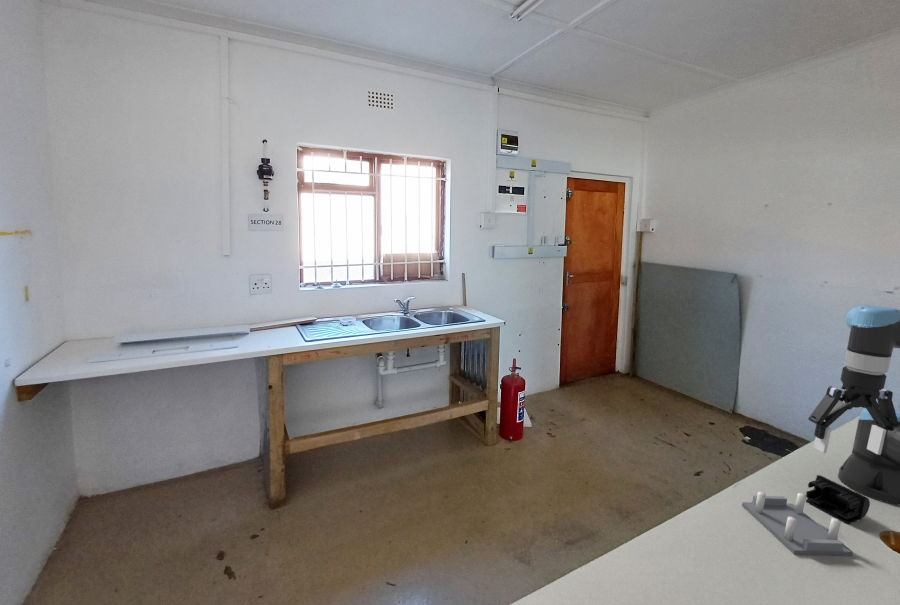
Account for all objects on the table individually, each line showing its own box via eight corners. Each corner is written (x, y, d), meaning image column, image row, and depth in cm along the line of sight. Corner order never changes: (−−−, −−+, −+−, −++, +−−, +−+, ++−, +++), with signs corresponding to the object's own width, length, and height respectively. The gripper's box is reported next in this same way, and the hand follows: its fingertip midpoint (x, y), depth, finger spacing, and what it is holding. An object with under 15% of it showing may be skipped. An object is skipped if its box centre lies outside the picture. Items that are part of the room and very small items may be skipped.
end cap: (866, 520, 101) (872, 495, 100) (849, 526, 99) (855, 501, 98) (819, 495, 111) (824, 472, 109) (802, 500, 108) (807, 477, 107)
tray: (791, 507, 105) (796, 486, 104) (852, 555, 89) (858, 531, 88) (741, 505, 105) (745, 484, 104) (793, 554, 89) (798, 529, 88)
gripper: (898, 366, 102) (880, 444, 106) (800, 363, 102) (785, 441, 105) (933, 376, 95) (912, 460, 98) (827, 373, 94) (810, 457, 98)
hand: (846, 451), depth 102 cm, fingers open, 13 cm apart
